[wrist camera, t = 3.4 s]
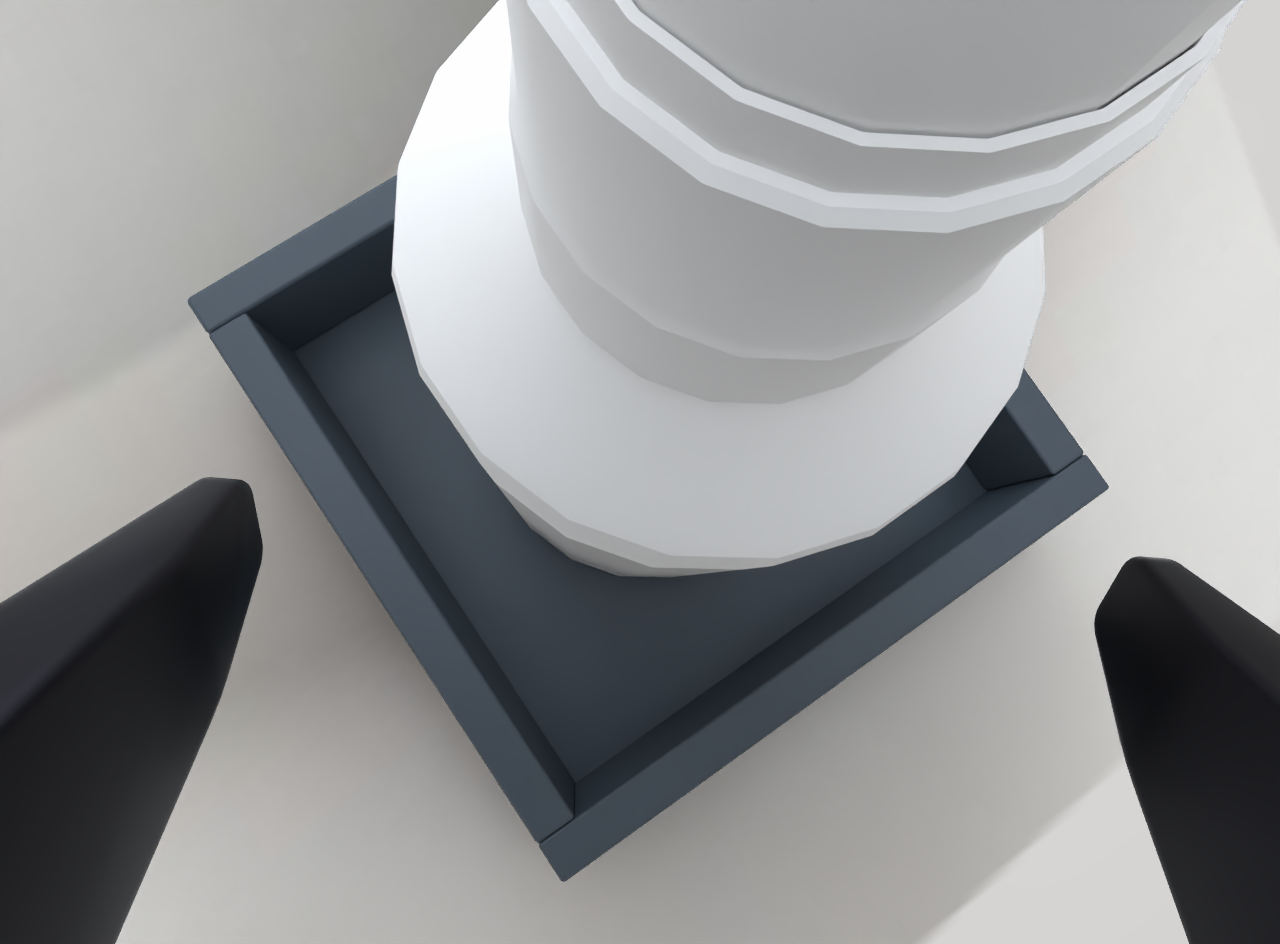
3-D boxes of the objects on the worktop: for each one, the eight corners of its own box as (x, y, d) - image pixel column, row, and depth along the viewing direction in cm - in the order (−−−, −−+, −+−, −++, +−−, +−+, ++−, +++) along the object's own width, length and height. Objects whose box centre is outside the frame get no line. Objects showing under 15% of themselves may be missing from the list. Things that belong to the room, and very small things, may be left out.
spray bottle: (472, 291, 20) (-271, -1822, 2) (773, 258, 21) (1916, -1654, 3) (509, 599, 20) (-187, 722, 2) (820, 556, 20) (2714, 316, 2)
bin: (1017, 505, 21) (1111, 487, 18) (565, 827, 20) (562, 884, 16) (712, 73, 22) (739, -31, 18) (255, 351, 21) (183, 298, 17)
